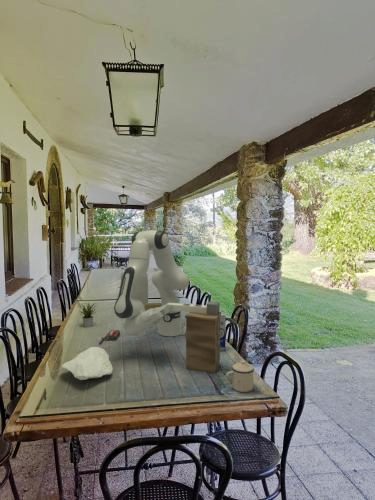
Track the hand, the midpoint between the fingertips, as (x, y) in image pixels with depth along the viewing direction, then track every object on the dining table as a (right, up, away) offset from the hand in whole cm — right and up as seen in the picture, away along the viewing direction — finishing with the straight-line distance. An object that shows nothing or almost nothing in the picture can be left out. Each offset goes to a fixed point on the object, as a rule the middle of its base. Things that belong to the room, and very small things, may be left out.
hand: (173, 306), depth 184 cm
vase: (-33, -20, +93) cm, 101 cm away
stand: (+15, -29, -5) cm, 32 cm away
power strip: (+9, -2, -3) cm, 10 cm away
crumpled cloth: (-39, -29, -13) cm, 51 cm away
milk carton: (+23, -27, +18) cm, 40 cm away
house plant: (-58, -23, +60) cm, 86 cm away
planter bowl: (-15, -22, +73) cm, 77 cm away
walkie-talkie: (-39, -25, +34) cm, 58 cm away
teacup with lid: (+29, -31, -27) cm, 50 cm away
